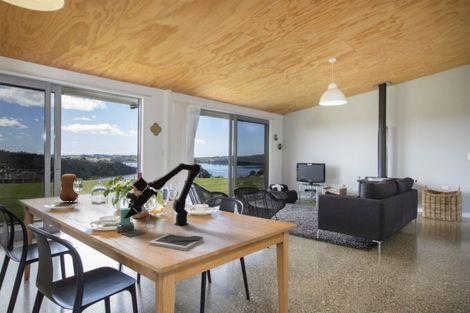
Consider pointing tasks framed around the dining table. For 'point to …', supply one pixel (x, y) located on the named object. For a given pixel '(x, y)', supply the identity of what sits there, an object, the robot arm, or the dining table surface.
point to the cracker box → (144, 211)
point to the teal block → (124, 216)
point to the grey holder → (125, 227)
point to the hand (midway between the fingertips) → (124, 216)
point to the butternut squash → (68, 188)
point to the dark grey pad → (133, 233)
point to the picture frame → (177, 241)
